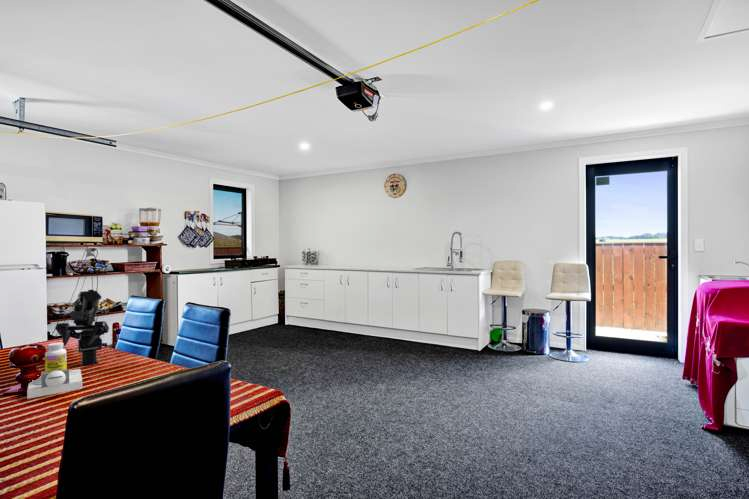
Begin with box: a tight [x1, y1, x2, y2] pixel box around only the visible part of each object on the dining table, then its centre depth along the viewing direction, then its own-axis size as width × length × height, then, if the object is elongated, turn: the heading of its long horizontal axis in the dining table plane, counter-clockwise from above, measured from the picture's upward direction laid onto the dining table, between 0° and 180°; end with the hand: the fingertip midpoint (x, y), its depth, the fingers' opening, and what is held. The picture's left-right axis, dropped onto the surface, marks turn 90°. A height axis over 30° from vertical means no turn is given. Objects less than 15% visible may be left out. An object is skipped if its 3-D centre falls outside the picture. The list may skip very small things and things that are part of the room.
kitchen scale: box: [26, 368, 83, 400], centre depth 156 cm, size 21×16×8 cm
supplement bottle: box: [44, 341, 68, 373], centre depth 157 cm, size 7×7×13 cm
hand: (76, 345), depth 170 cm, fingers open, 9 cm apart
